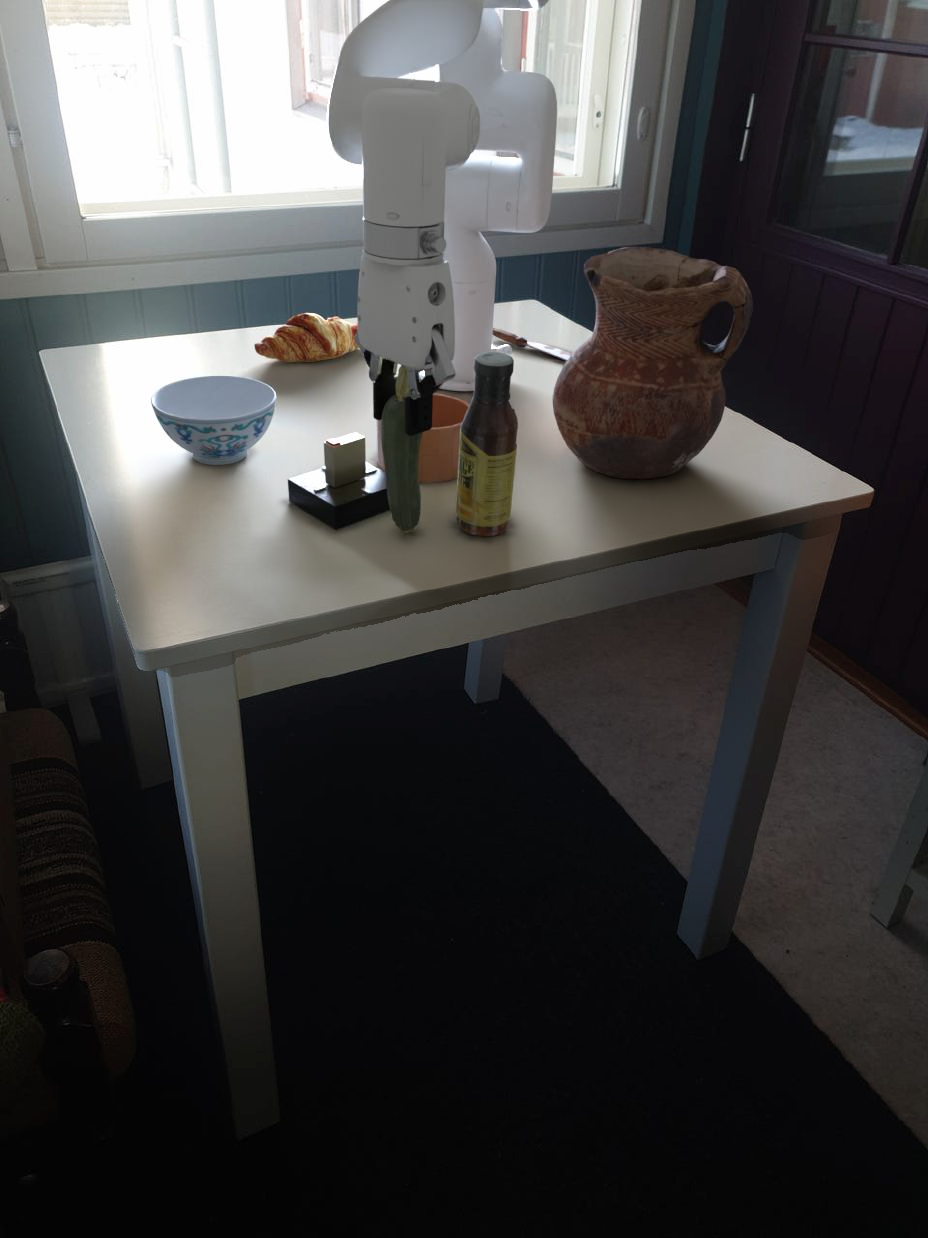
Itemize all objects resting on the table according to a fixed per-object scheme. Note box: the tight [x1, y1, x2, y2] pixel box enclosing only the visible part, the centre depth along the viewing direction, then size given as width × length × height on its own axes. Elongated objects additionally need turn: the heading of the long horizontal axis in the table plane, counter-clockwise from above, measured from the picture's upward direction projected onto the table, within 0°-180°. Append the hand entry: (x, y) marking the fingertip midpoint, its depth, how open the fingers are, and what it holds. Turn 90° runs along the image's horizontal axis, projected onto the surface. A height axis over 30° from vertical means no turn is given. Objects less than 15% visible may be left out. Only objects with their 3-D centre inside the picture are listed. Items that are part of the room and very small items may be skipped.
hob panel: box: [287, 462, 390, 531], centre depth 112 cm, size 10×9×3 cm
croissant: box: [254, 312, 359, 364], centre depth 155 cm, size 21×10×8 cm, turn 126°
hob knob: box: [323, 432, 367, 488], centre depth 110 cm, size 5×2×5 cm, turn 134°
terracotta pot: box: [376, 393, 470, 484], centre depth 122 cm, size 12×12×7 cm
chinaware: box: [150, 375, 277, 466], centre depth 121 cm, size 15×15×8 cm
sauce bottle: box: [455, 352, 519, 537], centre depth 104 cm, size 7×6×20 cm
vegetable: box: [381, 365, 422, 535], centre depth 102 cm, size 4×4×20 cm
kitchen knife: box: [492, 327, 573, 362], centre depth 163 cm, size 21×2×5 cm
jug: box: [552, 246, 754, 480], centre depth 120 cm, size 22×21×25 cm
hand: (402, 422), depth 100 cm, fingers closed on vegetable, 4 cm apart
